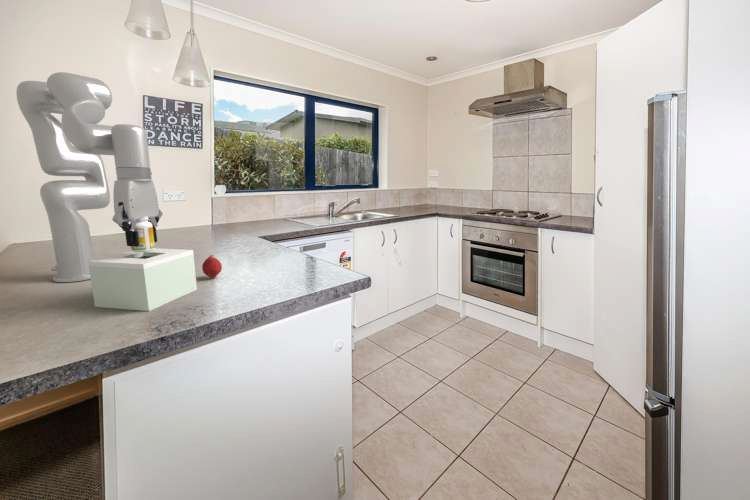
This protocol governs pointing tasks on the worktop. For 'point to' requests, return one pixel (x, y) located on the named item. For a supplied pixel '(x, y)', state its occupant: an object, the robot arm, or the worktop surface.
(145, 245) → the supplement bottle
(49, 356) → the worktop surface
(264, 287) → the worktop surface
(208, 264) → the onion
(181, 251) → the caddy
